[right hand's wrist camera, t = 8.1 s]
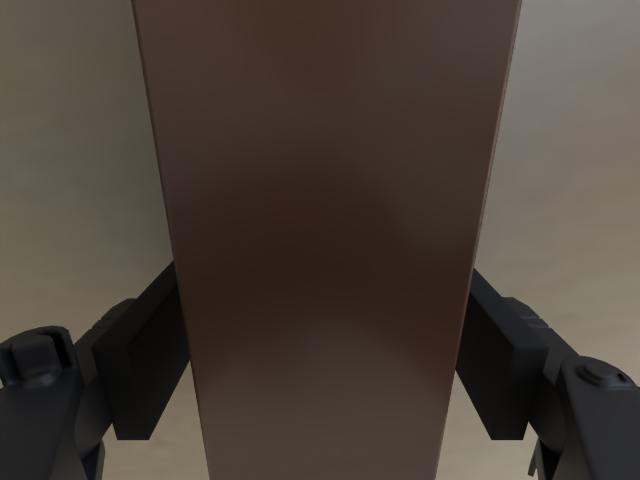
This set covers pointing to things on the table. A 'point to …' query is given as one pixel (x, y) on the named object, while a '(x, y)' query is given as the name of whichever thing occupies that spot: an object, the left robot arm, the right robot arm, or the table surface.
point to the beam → (324, 218)
